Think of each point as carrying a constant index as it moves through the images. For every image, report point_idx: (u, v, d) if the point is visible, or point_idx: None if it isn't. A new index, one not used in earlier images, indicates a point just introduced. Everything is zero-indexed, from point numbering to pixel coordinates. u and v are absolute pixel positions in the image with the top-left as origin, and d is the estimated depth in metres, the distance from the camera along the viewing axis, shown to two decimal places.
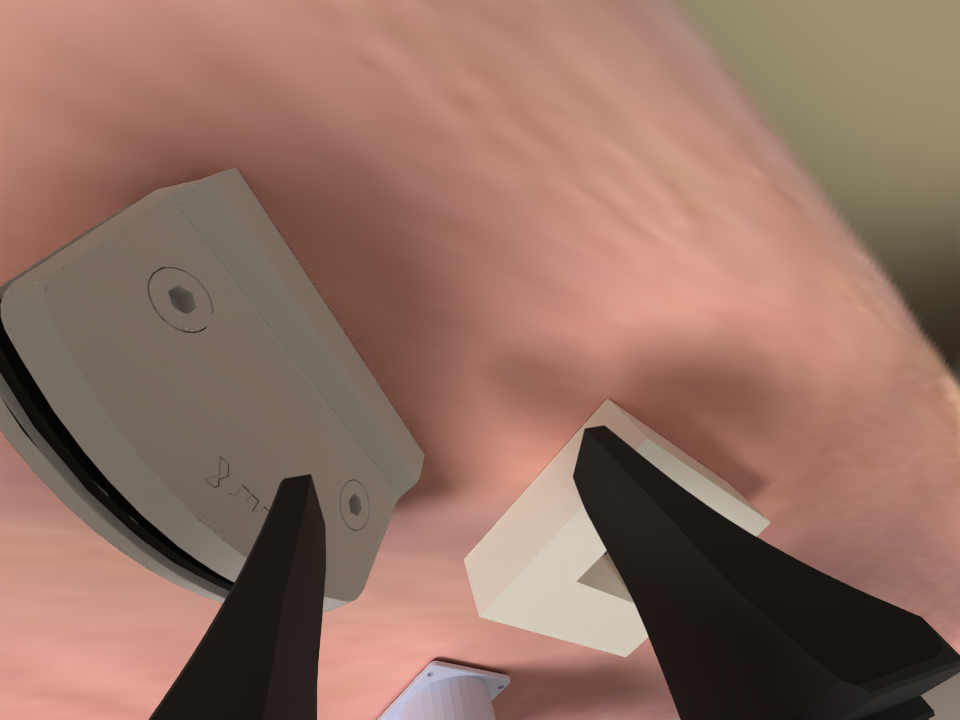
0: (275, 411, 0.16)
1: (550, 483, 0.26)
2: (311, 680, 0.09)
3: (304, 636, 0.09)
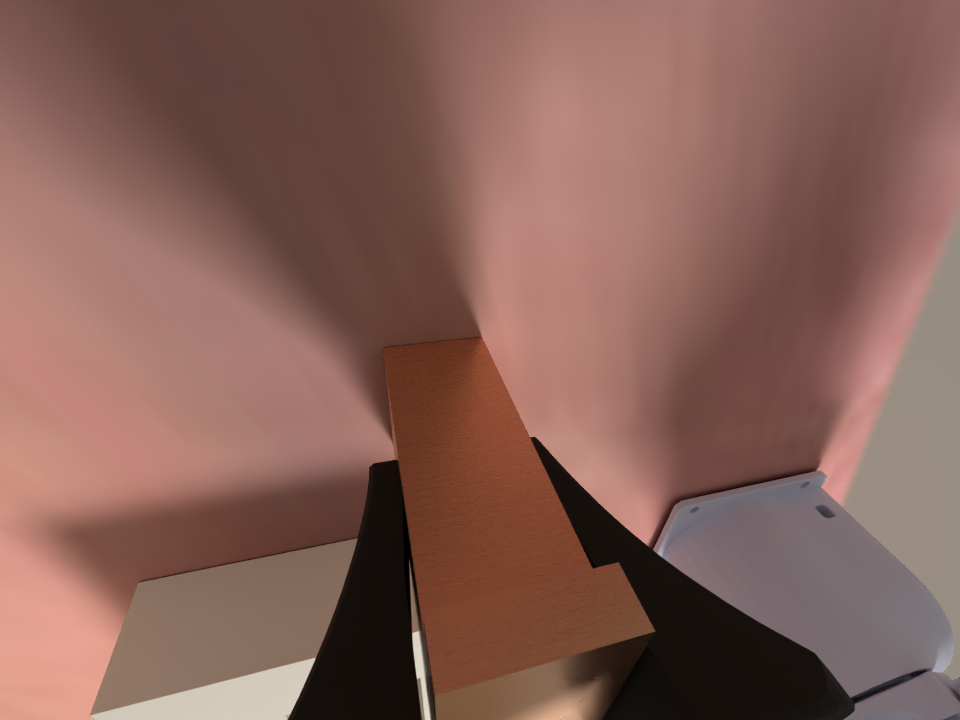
0: None
1: None
2: None
3: (409, 610, 0.09)
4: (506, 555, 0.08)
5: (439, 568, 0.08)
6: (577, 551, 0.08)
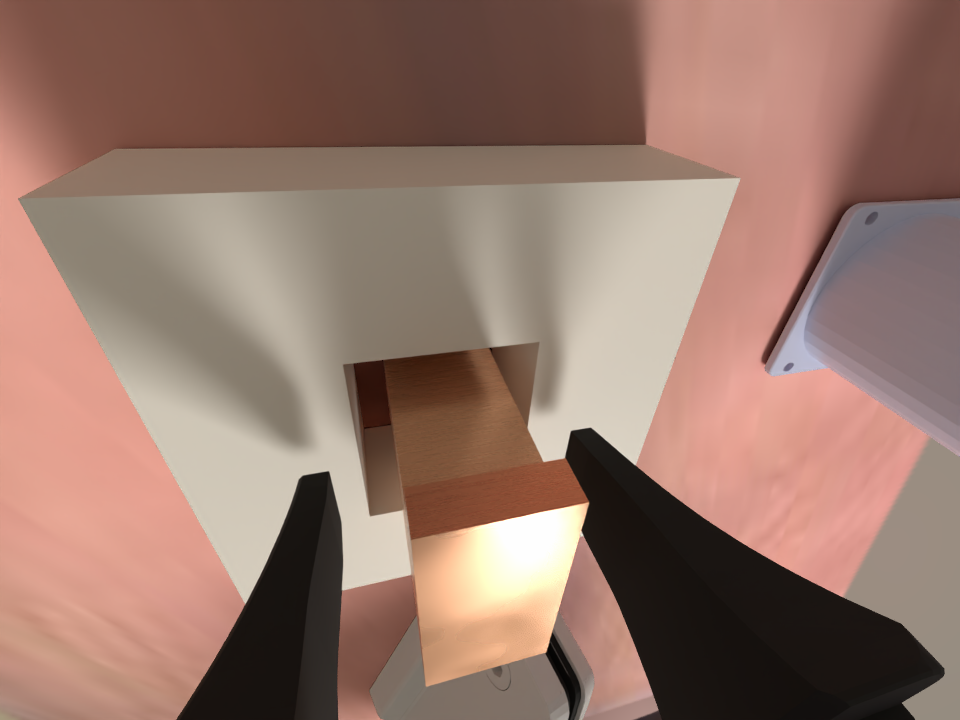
0: (456, 714, 0.26)
1: None
2: (332, 674, 0.09)
3: (326, 631, 0.09)
4: (477, 464, 0.09)
5: (421, 473, 0.09)
6: (537, 462, 0.09)
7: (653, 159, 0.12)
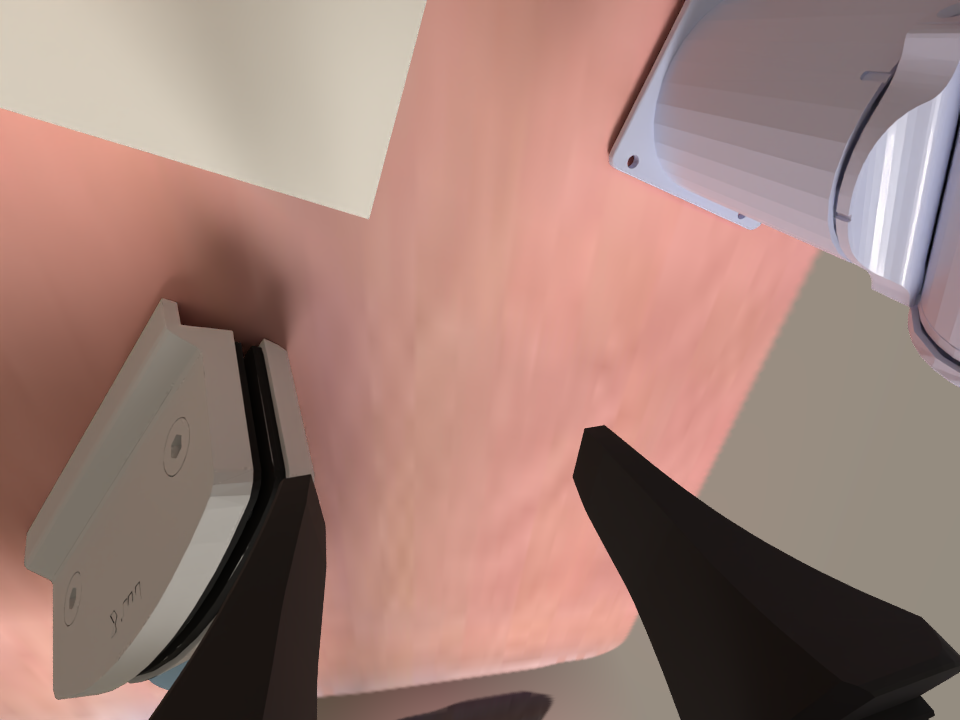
0: (115, 536, 0.18)
1: None
2: (311, 680, 0.09)
3: (304, 636, 0.09)
4: None
5: None
6: None
7: None
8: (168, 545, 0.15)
